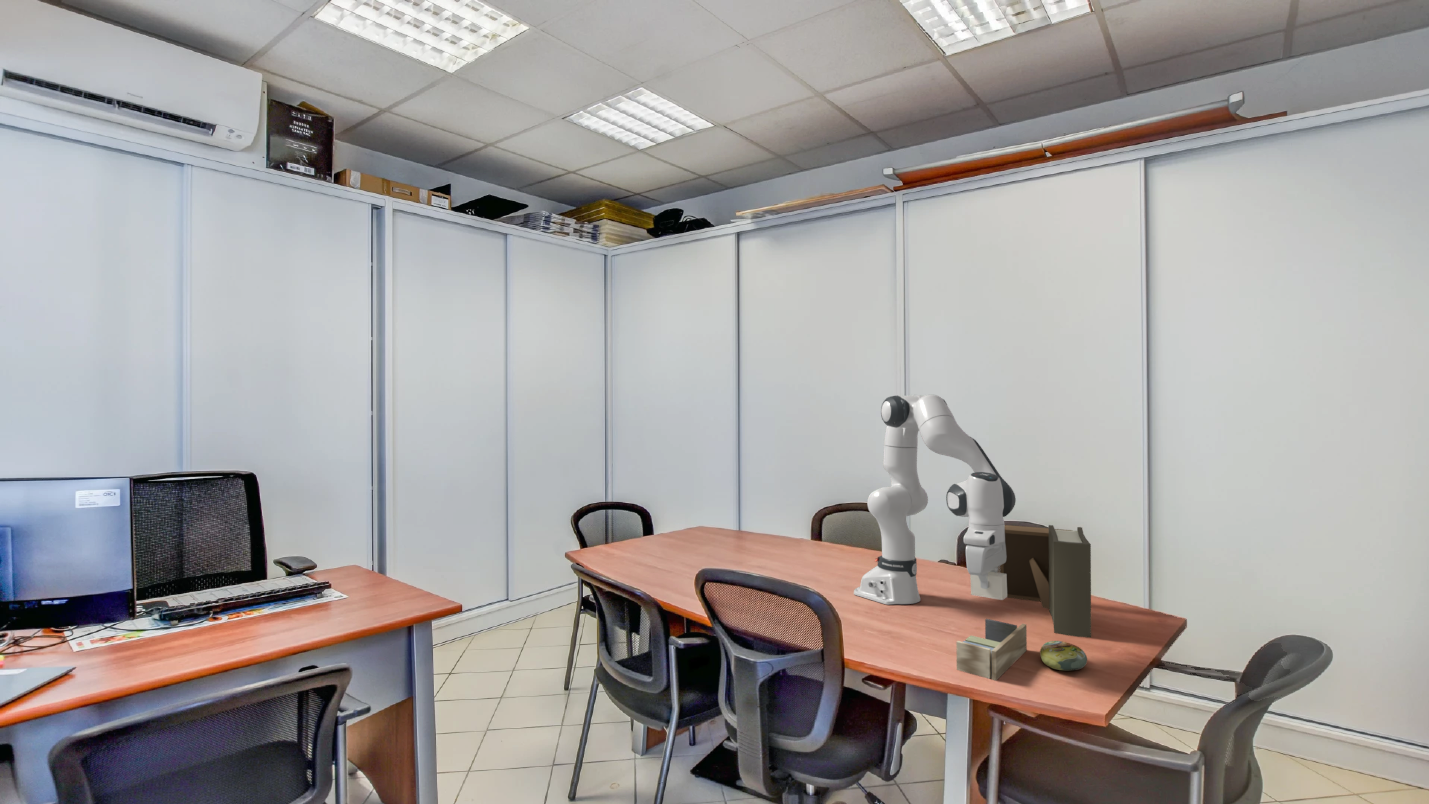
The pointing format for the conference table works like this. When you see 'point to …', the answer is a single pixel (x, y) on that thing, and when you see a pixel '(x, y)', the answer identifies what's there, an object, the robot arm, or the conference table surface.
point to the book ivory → (990, 586)
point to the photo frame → (1027, 563)
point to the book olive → (982, 641)
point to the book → (1070, 582)
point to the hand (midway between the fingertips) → (988, 585)
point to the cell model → (1063, 656)
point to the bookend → (998, 630)
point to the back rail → (1002, 655)
